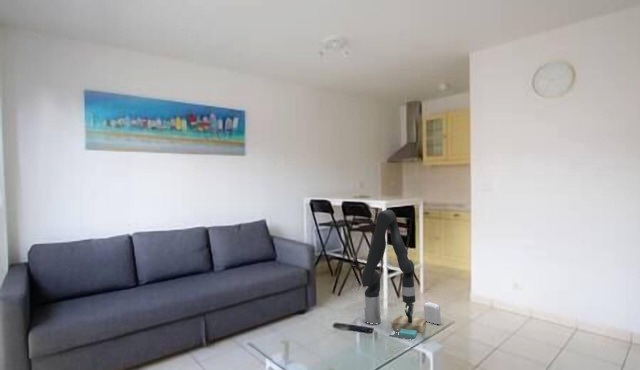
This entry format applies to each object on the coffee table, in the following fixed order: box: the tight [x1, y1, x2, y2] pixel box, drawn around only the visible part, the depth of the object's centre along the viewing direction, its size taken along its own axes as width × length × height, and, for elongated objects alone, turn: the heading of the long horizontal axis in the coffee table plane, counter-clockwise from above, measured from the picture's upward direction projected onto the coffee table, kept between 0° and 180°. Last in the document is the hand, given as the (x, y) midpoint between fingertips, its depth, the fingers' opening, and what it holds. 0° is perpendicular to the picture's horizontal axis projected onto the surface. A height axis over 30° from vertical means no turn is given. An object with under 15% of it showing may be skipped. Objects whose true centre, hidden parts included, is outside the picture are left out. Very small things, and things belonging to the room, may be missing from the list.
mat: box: [388, 329, 413, 341], centre depth 207 cm, size 13×10×1 cm
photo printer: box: [423, 301, 442, 325], centre depth 222 cm, size 10×4×12 cm, turn 39°
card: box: [399, 329, 418, 339], centre depth 205 cm, size 9×6×2 cm, turn 62°
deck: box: [391, 314, 427, 334], centre depth 217 cm, size 18×12×4 cm, turn 62°
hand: (410, 322), depth 212 cm, fingers closed
